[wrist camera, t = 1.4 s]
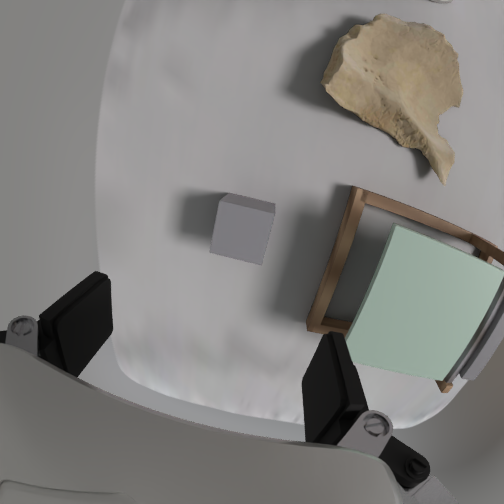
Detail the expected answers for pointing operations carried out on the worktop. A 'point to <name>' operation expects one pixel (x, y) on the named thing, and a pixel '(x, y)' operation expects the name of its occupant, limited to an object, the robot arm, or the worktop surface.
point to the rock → (398, 83)
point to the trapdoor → (426, 309)
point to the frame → (341, 250)
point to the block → (242, 228)
